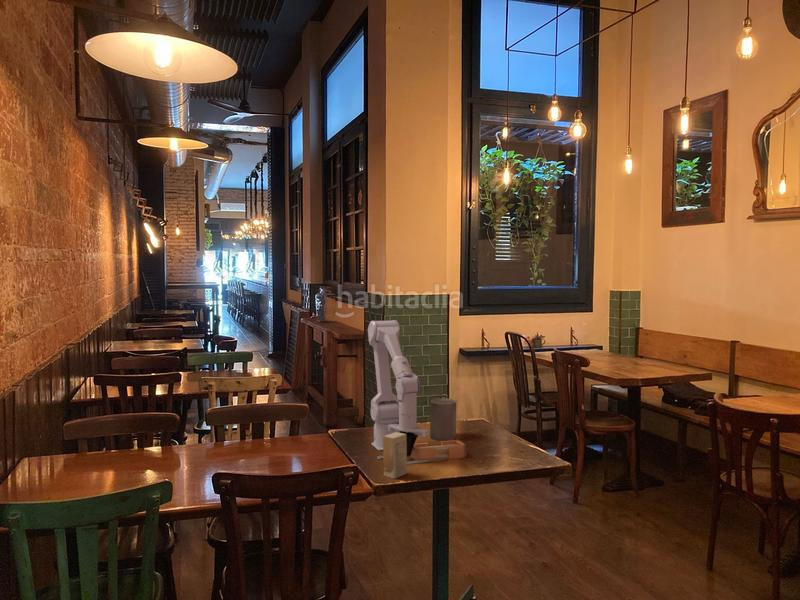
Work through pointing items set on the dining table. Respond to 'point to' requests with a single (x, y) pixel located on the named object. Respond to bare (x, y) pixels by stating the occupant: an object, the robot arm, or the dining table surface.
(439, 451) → the pale wooden block
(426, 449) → the cap sliding
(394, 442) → the skincare box
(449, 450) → the pink open box
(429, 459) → the guide rails
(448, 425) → the pillar candle
